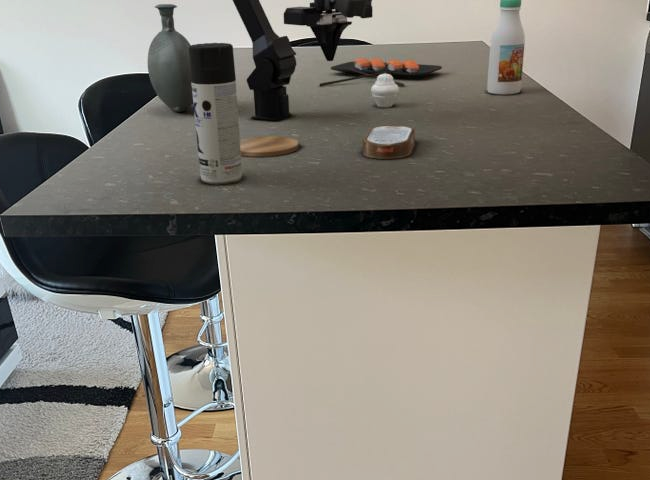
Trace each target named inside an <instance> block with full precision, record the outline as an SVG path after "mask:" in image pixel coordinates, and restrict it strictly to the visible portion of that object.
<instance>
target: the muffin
mask: <svg viewBox="0 0 650 480" xmlns="http://www.w3.org/2000/svg"><path fill="white" fill-rule="evenodd" d="M394 81H395V80H394V78H393V77H392V76H391V75H390V74H386V73H384V74H381V75H379V76H378V77H377V78H376V81H375V82H374V84H373V85H372V86H371V88H370V92H371V96H372V98H373V100H374V102H375V104H376V106H377V107H379V108H391V107H393V105H394V103H395V101H396V98H397V97H398V93H399V92H400V87H399V85H397V84H395V82H394Z"/></svg>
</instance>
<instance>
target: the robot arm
mask: <svg viewBox="0 0 650 480" xmlns="http://www.w3.org/2000/svg"><path fill="white" fill-rule="evenodd" d="M232 2H233V5H234V6H235V8H236V11H237V13H238V15H239V17H240V19H241V22H242V23H243V25H244V28H245V29H246V33H247V34H248V36H249V38H250V41H251V43H252V44H251V45H252V60H253V62H254V66H255V68H254V69H253V70H252V72H251V73H250V74H249V76H248V77H247V78H246V83H247V86H248V89H249V90H250V91H252V92H253V105H254V115H251V116H250V119H251V120H263V121H273V122H274V121H280V120H283V119H285V118H287V117H290V116H292V112H290V102H289V100H290V97H289V94H288V93H287V85H290V83H291V78H292V76H293V75H294V73H295V71H296V67H297V60H296V55H297V52H296V51H295V50H294V48H293V47H292V44H291V42H290V39H289V37H288V36H287V35H283V36H279V35H278V34H277V32H275V30H274V28H273V27H272V25H271V22H270V20H269V18H268V16H267V14H266V12H265V10H264V7H263V6H262V3H261V1H260V0H232ZM372 2H373V0H313V2H309V6H293V7H286V8H285V10H284V11H283V25H291V26H302V27H303V26H306V27H309V28H310V30H311V32H312V33H313V36H314V37H315V39H316V41H317V42H318V45H319V47H320V49H321V51H322V53H323V55H324V58H325V61H326V62H333V61H334V59H335V57H336V53H337V49H338V46H339V43H340V40H341V38H342V35H343V32H344V30H346V29H347V28H348V26H351V25H352V24H353V21H348V18H350V19H353V18H354V17H359V18H360V19H370V18H373V6H372Z"/></svg>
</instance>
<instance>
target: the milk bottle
mask: <svg viewBox="0 0 650 480" xmlns="http://www.w3.org/2000/svg"><path fill="white" fill-rule="evenodd" d="M521 6H522V0H500V1H499V10H500V14H499V18H498V20H497V23H496V24H495V27H494V29H493V31H492V34H491V38H490V45H489V56H488V57H489V58H488V68H487V69H488V70H487V83H486V84H487V85H486V91H487V92H488V93H489V94H493V95H514V94H519V93H520V92H521V89H522V80H523V79H522V78H523V69H524V68H523V67H524V57H525V56H524V55H525V44H526V43H525V41H526V40H525V39H526V37H525V31H524V27H523V25H522V21H521V16H520V11H521V8H522V7H521Z"/></svg>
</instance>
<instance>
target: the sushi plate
mask: <svg viewBox="0 0 650 480" xmlns="http://www.w3.org/2000/svg"><path fill="white" fill-rule="evenodd" d="M442 69H443V66H442V65H435V64H422V63H421V64H419V63H418V62H416V61H415V60H414V59H413V60H412V59H405V60H402V62H401V61H400V60H399V59H391V60H388V61H387V62H384V61H383V60H382V59H381V58H378V57H377V58H376V57H373V58H371V59H367V58H365V57H360V58H356V59H354V61H347V62H344V63H339V64H336V65H332V66H331V67H330V70H331V71H336V72H341V73H344V75H347V76H353V77H348V78H343V79H337V80H332V81H326V82H321V83H319V86H320V87H323V86H329V85H335V84H341V83H344V82H349V81H355V80H359V79H364V78H369V77H371V78H374V79H377V77H378V76H379V75H381V74H384V73H386V74H390V75H391V76H392V77H393V79H406V80H407V79H409V80H412V79H413V80H415V79H421V78H425V77H427V76H429V74H431V73H434V72H437V71H440V70H442ZM354 76H355V77H354ZM393 81H394V82H395V84H397V86H398V87H399V86H400V87H405V84H404V83H403V82H400V81H395V80H393Z"/></svg>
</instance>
